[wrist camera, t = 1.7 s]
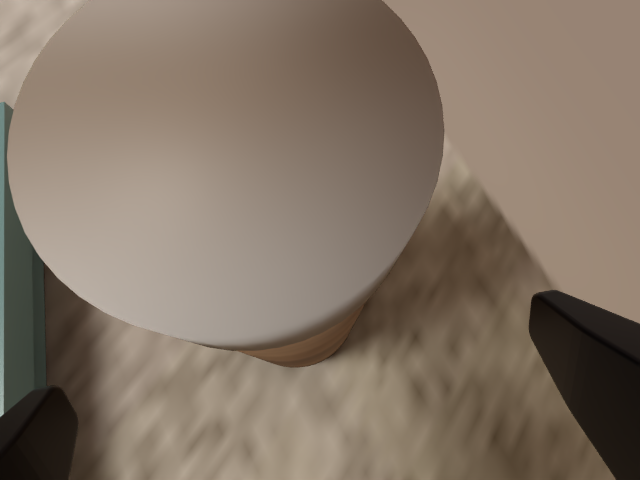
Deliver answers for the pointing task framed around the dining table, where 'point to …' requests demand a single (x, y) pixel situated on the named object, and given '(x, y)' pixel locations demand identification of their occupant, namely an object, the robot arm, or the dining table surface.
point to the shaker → (228, 165)
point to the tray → (18, 295)
